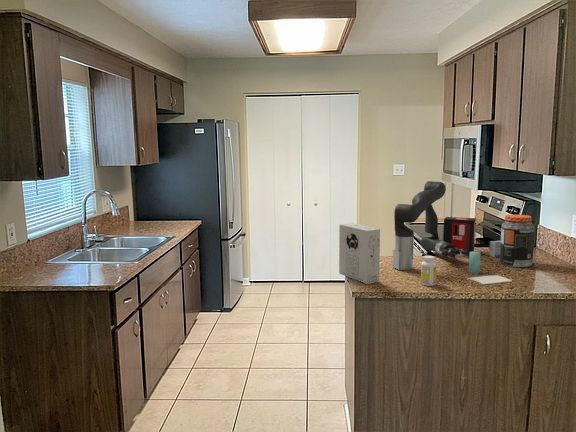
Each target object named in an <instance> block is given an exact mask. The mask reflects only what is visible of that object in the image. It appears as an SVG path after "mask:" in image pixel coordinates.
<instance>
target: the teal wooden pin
mask: <svg viewBox="0 0 576 432" xmlns="http://www.w3.org/2000/svg"><path fill="white" fill-rule="evenodd" d="M468 258H469V259H468V260H469V261H468V274H469V273H470V274H480V269H481V252H479V251H474V252H470V255H469V257H468Z"/></svg>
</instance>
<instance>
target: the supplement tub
mask: <svg viewBox="0 0 576 432" xmlns="http://www.w3.org/2000/svg"><path fill="white" fill-rule="evenodd" d="M500 241H501V246H500V257H499V261H500V263H501V264H502V265H505V266H507V267H512V268H527V267H530V266H532V265H533V264H534V263H533V262H534V261H533V260H534V248H535V247H534V245H535V244H534V243H535V225H534V224H533V222H532V216H531V215H527V214H506V215H504V222H503V223H502V224H501V227H500Z"/></svg>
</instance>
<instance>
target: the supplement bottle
mask: <svg viewBox="0 0 576 432" xmlns="http://www.w3.org/2000/svg"><path fill="white" fill-rule="evenodd" d="M420 284H421V285H422V286H427V287H428V286H432V287H434V286H435V285H437V263H436V262H435V256H433V255H424V256H423V261H422V262H421V265H420Z"/></svg>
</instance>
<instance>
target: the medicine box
mask: <svg viewBox="0 0 576 432" xmlns="http://www.w3.org/2000/svg"><path fill="white" fill-rule="evenodd" d="M500 246H501V240H490V241H489V248H488V249H489V253H488V255H489V257H492V258H500Z"/></svg>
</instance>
